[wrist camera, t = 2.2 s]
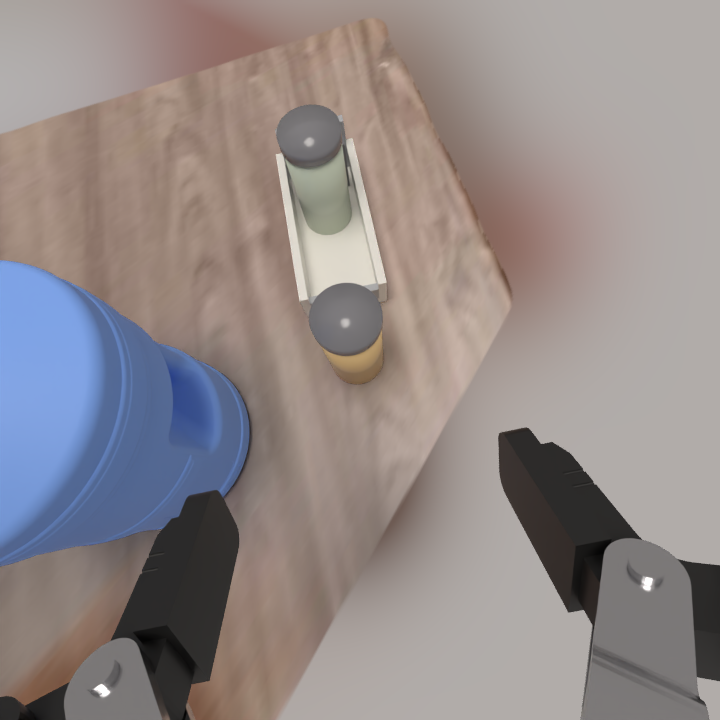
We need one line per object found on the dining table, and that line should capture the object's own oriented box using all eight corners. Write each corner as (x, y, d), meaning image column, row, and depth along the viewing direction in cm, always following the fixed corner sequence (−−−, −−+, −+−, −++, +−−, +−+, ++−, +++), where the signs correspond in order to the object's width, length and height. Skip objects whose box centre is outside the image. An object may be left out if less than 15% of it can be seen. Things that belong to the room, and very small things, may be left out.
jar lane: (387, 300, 41) (386, 266, 34) (307, 317, 41) (291, 286, 34) (355, 166, 46) (349, 113, 39) (285, 181, 46) (267, 130, 39)
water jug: (187, 562, 35) (-469, 842, 8) (64, 468, 38) (-693, 451, 12) (284, 412, 38) (37, 262, 12) (163, 337, 42) (-249, 84, 15)
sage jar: (299, 233, 43) (269, 154, 32) (309, 191, 44) (283, 102, 34) (348, 238, 42) (334, 158, 32) (356, 195, 44) (345, 106, 33)
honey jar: (326, 381, 39) (302, 346, 28) (335, 330, 40) (316, 278, 30) (380, 388, 38) (376, 355, 28) (387, 336, 40) (387, 286, 29)
